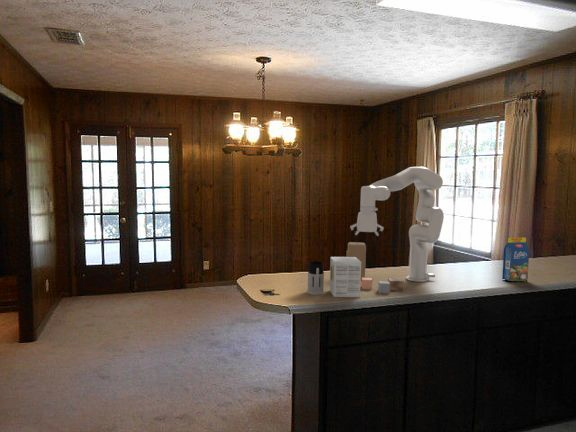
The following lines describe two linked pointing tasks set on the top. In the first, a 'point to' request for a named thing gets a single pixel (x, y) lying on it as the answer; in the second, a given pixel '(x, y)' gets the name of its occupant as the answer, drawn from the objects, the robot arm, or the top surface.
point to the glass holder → (316, 278)
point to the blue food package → (516, 260)
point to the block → (358, 254)
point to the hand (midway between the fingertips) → (366, 242)
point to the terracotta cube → (366, 283)
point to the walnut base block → (396, 283)
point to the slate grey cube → (384, 287)
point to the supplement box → (345, 276)
